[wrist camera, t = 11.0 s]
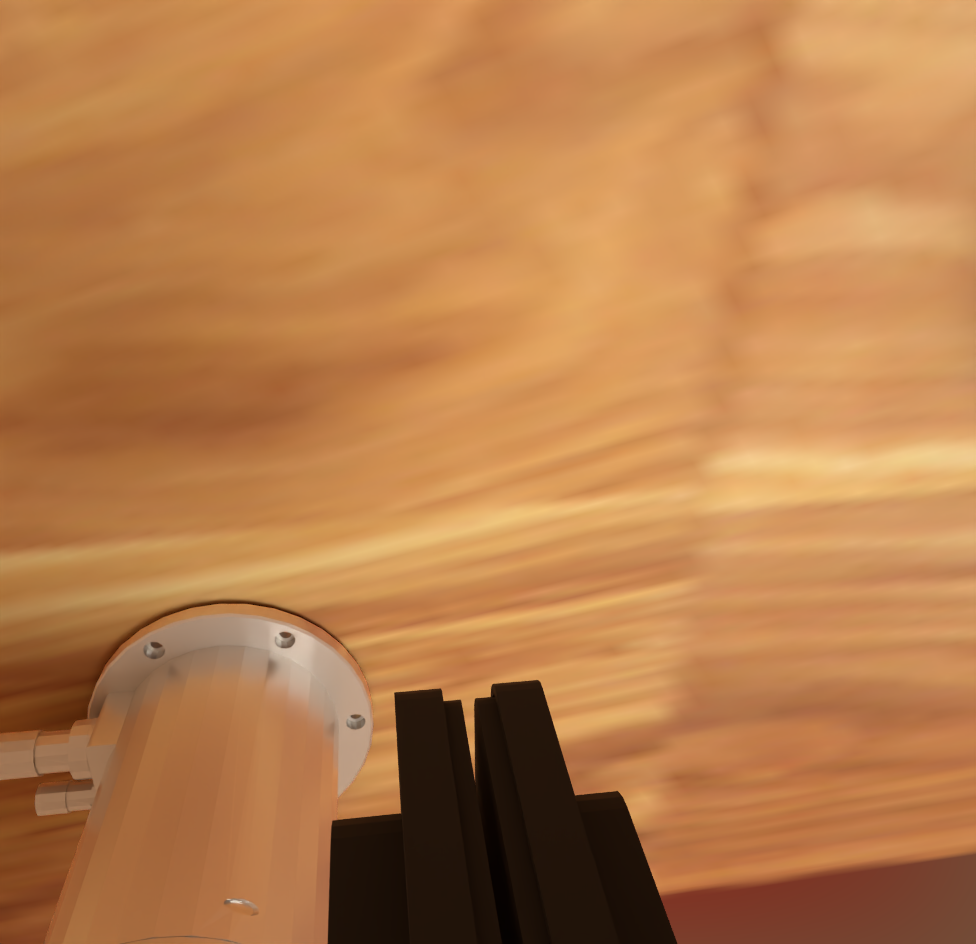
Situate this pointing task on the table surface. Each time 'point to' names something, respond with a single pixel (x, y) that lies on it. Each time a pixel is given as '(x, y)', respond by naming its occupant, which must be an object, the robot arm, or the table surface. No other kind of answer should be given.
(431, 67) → the table surface
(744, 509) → the table surface
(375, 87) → the table surface
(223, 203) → the table surface
